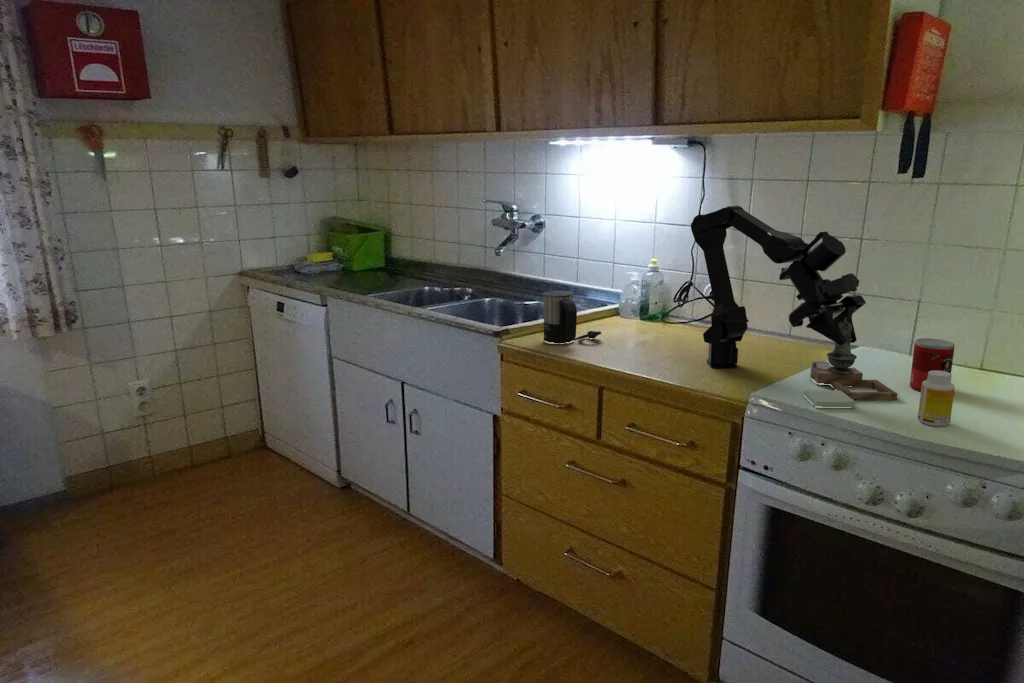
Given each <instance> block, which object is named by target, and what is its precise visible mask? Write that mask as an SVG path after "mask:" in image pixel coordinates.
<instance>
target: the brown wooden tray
mask: <svg viewBox="0 0 1024 683" xmlns="http://www.w3.org/2000/svg"><path fill="white" fill-rule="evenodd" d="M848 368H849V369H851V370H852V371H853V372H854V373H853V374H851V375H837V374H832V373H829V372H828V371H824V370H823V369H822V368H810V375H809V376H810V377H811V378H812V379H814V380H815V381H816V382H817V383H824V384H831V385H832V386H833V387H834V388H835V389H837V390H841V391H842V392H843V393H845V394H846V395H847V396H848V397H850V398H851V399H857V400H856V401H897V400H898V393H897V392H896V391H894V390H893V389H891V388H889V387H888V386H886V385H885V384H883V383H882V382H881V381H879V380H877V379H863V375H864V373H862V372H861V371H860V370H859V369H857V368H855V367H848ZM810 377H809V378H810ZM845 386H852V387H851V388H873V389H874V390H875V391H851V390H850V388H848V387H845Z"/></svg>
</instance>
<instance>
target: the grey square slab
mask: <svg viewBox="0 0 1024 683" xmlns="http://www.w3.org/2000/svg"><path fill="white" fill-rule="evenodd" d="M803 394H804V395H805V396H806V397H807V398H808V399H809V400H810V401H811V402H812V403H813V404H814V405H815V406H822V407H851V408H855V409H856V400H852V399H851V398H850V397H848V396H847V395H846V394H845V393H843V392H842V391H841V390H834V389H833V390H829V389H828V390H826V389H825V390H823V389H821V390H820V389H819V390H817V389H815V390H814V389H811V390H809V389H805V390H803V392H802V395H803Z"/></svg>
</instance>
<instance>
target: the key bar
mask: <svg viewBox="0 0 1024 683" xmlns="http://www.w3.org/2000/svg"><path fill="white" fill-rule="evenodd" d="M810 366H811V368H822V369H823V370H824V371H827V369H828V368H830V367H833V366H832V365H831V364H830V363H829V361H811V365H810ZM811 368H810V369H811Z"/></svg>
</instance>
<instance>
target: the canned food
mask: <svg viewBox="0 0 1024 683" xmlns="http://www.w3.org/2000/svg"><path fill="white" fill-rule="evenodd" d="M913 345H914V347H913V353H912V354H913V355H912V361H911V362H912V363H911V371H910V379H909V386H910V388H911V389H913V390H914V391H916V392H920V393H921V388H922V382H923V381H925V380H927V376H928V372H929V371H934V370H936V371H945V372H948V373H951V374H952V369H953V361H954V356H955V343H954V342H951V341H949V340H945V339H939V338H927V337H926V338H925V337H923V338H917V339H915V341H914V344H913Z"/></svg>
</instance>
